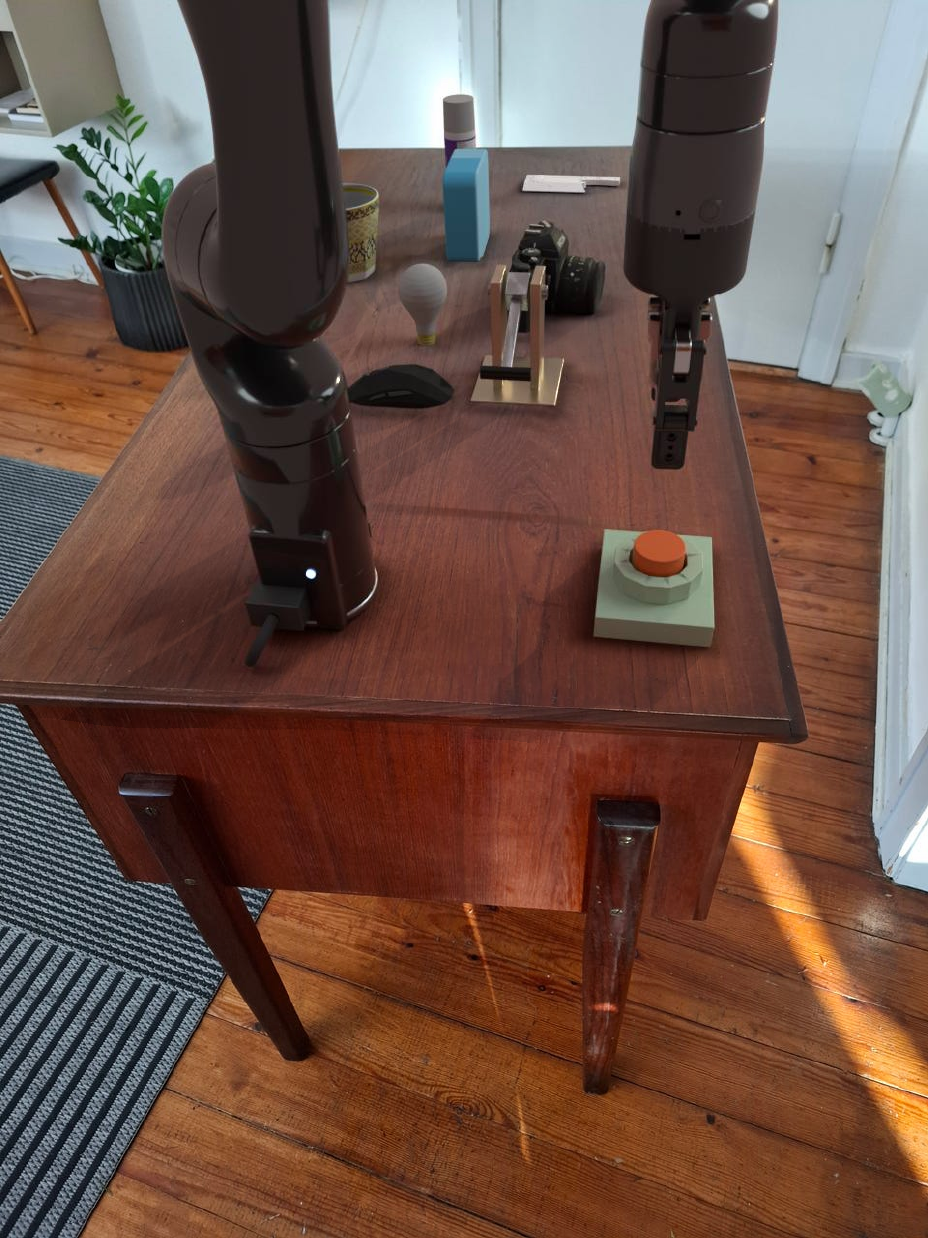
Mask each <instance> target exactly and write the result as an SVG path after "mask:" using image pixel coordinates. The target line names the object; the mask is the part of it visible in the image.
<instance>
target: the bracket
mask: <svg viewBox="0 0 928 1238" xmlns="http://www.w3.org/2000/svg"><path fill="white" fill-rule="evenodd" d="M507 269H508V268H507V264H496V267H495V269H494V272H493V275H492V277H491V280H490V282H489V283H488V289H487V296H488V298H489V299H490V317H491V318H490V324H491V354H485V355H484V359H483V361H482V365H485V366H501V362H502V355H503V349H504V342H505V336H506V329H507V322H508V310H507V307H506V298H505V291H506V285H507V279H508V273H507V271H508V270H507ZM547 299H548V285H545V266H536V267H535V270H534V274H533V277H532V280H531V284H530V331H529V356H519V355H518V356H516V355H515V358H514V365H513V367H528V368H532V380H531V382H527V381H507V380H486V379H480V372H479V373H478V376H477V379H476V382H475V386H474V389H473V390H472V394H471V397H470V403H481V404H482V403H484V404H501V405H502V404H503V405H522V406H539V407H555V406H556V402H557V398H558V397H557V396H558V392H559V387H560V381H561V379H562V378H561V377H562V372H563V367H564V362H565V358H561V357H545V315H546V313H545V300H547Z"/></svg>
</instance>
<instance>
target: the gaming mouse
mask: <svg viewBox="0 0 928 1238" xmlns="http://www.w3.org/2000/svg"><path fill="white" fill-rule="evenodd" d="M348 393H349V400H350V403H352V404H355V405H358V406H367V407H379V408H398V409H399V408H400V409H421V410H422V409H429V408H434V407H439V406H442V405H445V404H446V403H448V401H450V400H452V399H453V397H454V393H455V388H454V387H453V386H452V385H451V384H450V383H449V382H448V381H447V380H446V379H444V377H442V376H441V375H440V374H439V373H437V372H436V371H435V370H434V369H433V368H430V367H427V366H423V365H420V364H418V363H409V364H407V363H405V364H393V365H389V366H386V367H385V366H384V367H382V368H381V367H380V368H378V369H374V370H372V371H370V372H364V373H363V374H362V375H361V377H360V378H359V379H357V380H356V381H355V382H354V383H352V384H351V385H350V386H348Z"/></svg>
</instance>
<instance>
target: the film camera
mask: <svg viewBox="0 0 928 1238" xmlns="http://www.w3.org/2000/svg"><path fill="white" fill-rule="evenodd" d="M569 247H570V242H569V237H568V235H567V234H566V233H565V231H564V230H563V229H562V228H559V227H557V226H555V223H554V222H552V221H550V220H541V221H539V222H538V224H533V223H529V225H528V226H527V228H526V229H525V230H524V232H523V236H522V238H521V239H520V240H519V244H518V247H517V249H515V252H514V254H513V255H512V257H511V266H510V269H509V271H508V273H509V272H521V273H530V281H531V280H532V277H533V274H534V270H535V267H536V266H545V285H548V299H547V300H545V314H556V312H561V313H562V312H565V313H573V314H581V315H582V314H590V315H594V314H596V312H597V311H598V309H599V307H600V305H601V301H602V298H603V293H604V286H605V282H606V281H605V279H606V263H605V261H604V260H599V261H597V262H596V260H595V258H594V257H589V256H580V255H579V256H578V255H569ZM508 316H509V310H507V317H508ZM518 333H521V334H522V333H524V334H527V333H530V300H529V307H528V311H521V317H520V324H519V331H518Z"/></svg>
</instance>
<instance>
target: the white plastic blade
mask: <svg viewBox="0 0 928 1238" xmlns="http://www.w3.org/2000/svg"><path fill="white" fill-rule="evenodd" d="M620 184H621V177H620V176H585V175H583V176H581V175H580V176H579V175H547V174H545V175H543V174H527V175H526V176H525V179H524V181H523V186H522V190H521V191H522V192H540V193H541V192H542V193H543V192H545V193H549V192H550V193H581V194H583V193H586V190H585V189H586V188H587V186H612V187H620Z"/></svg>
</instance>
